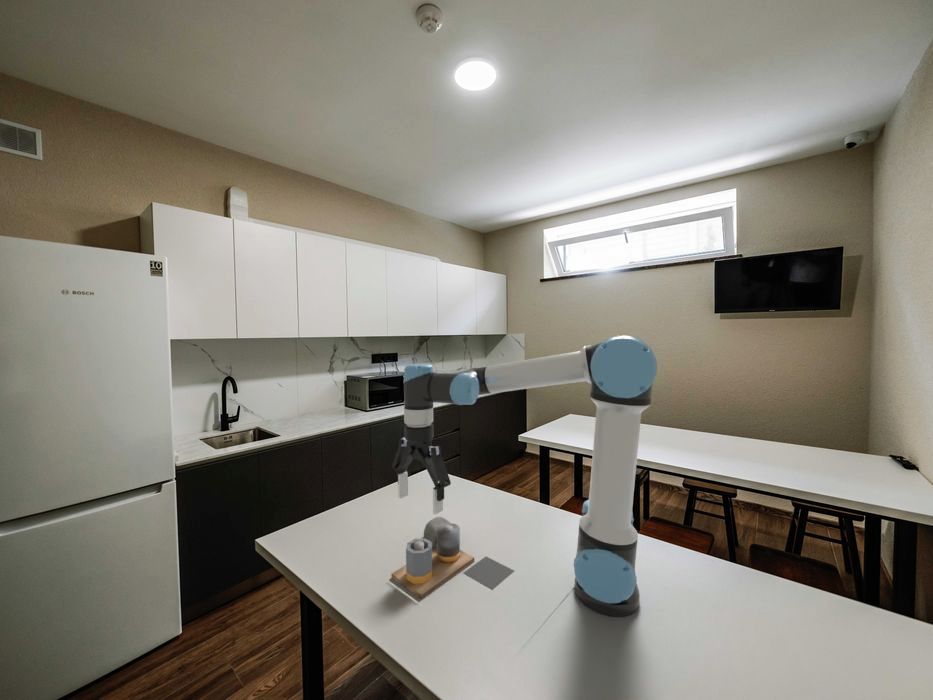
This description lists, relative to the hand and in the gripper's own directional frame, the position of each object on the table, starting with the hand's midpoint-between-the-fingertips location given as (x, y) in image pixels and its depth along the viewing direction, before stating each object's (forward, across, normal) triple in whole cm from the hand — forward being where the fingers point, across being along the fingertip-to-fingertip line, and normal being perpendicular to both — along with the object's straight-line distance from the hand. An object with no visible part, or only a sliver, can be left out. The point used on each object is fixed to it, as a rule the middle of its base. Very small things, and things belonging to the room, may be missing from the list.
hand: (419, 504), depth 96 cm
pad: (+21, -12, -14) cm, 28 cm away
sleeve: (+19, 0, 0) cm, 19 cm away
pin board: (+21, 0, -5) cm, 21 cm away
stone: (+21, +9, -16) cm, 28 cm away
